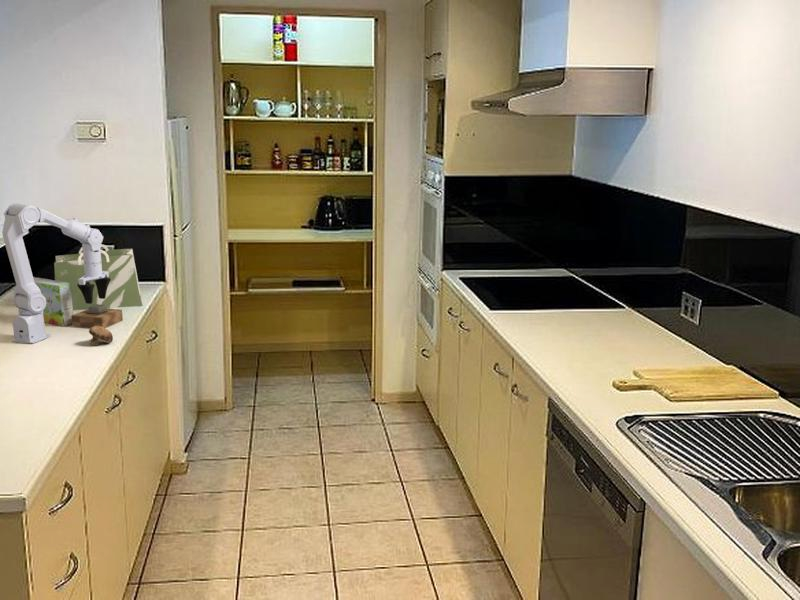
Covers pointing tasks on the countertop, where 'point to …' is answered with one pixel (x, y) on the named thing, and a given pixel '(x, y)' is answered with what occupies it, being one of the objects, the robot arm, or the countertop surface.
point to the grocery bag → (121, 273)
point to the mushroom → (100, 335)
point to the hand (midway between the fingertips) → (95, 300)
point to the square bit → (97, 309)
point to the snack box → (56, 301)
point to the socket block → (97, 318)
